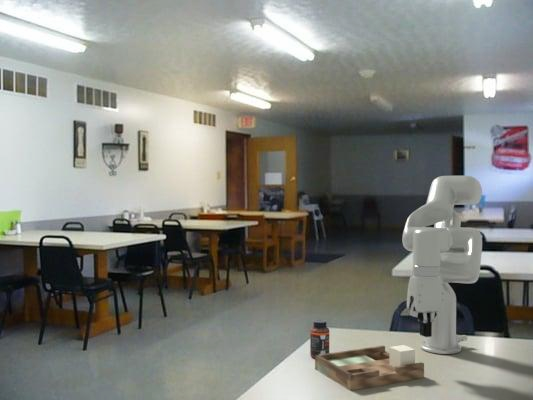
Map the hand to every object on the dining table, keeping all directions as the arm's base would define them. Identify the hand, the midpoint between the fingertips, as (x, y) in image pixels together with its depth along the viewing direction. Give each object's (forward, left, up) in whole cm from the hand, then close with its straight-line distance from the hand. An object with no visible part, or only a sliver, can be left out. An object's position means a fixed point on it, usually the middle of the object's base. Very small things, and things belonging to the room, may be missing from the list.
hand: (425, 335), depth 160 cm
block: (+8, -1, -8) cm, 11 cm away
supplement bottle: (+21, -25, -11) cm, 34 cm away
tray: (+16, -6, -10) cm, 20 cm away
